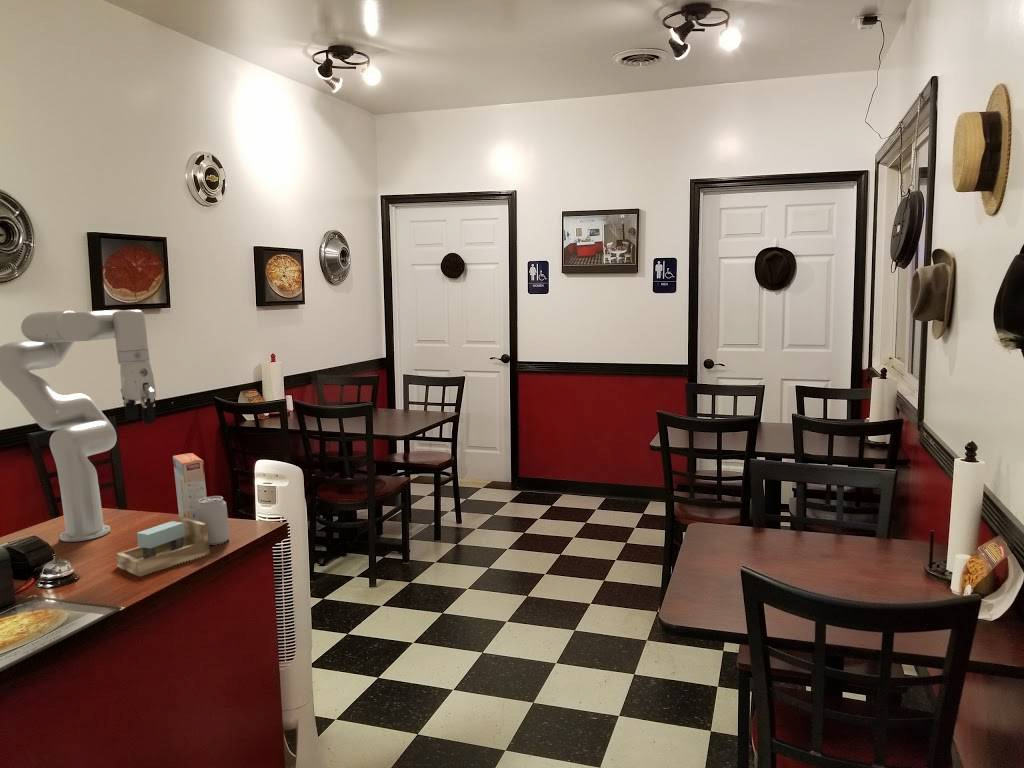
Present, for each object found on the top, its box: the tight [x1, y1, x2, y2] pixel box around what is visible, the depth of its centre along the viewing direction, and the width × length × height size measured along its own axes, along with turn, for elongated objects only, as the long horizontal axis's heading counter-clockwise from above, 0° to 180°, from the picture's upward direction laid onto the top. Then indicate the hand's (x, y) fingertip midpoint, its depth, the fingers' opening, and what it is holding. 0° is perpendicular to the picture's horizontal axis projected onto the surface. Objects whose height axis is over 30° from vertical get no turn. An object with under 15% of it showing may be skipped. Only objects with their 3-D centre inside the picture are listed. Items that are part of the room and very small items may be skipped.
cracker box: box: [172, 452, 208, 521], centre depth 223 cm, size 14×6×21 cm, turn 33°
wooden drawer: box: [115, 517, 211, 578], centre depth 199 cm, size 12×18×8 cm, turn 140°
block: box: [136, 520, 185, 549], centre depth 198 cm, size 10×4×4 cm, turn 150°
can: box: [196, 495, 231, 546], centre depth 211 cm, size 8×8×12 cm
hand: (141, 421), depth 210 cm, fingers open, 9 cm apart
